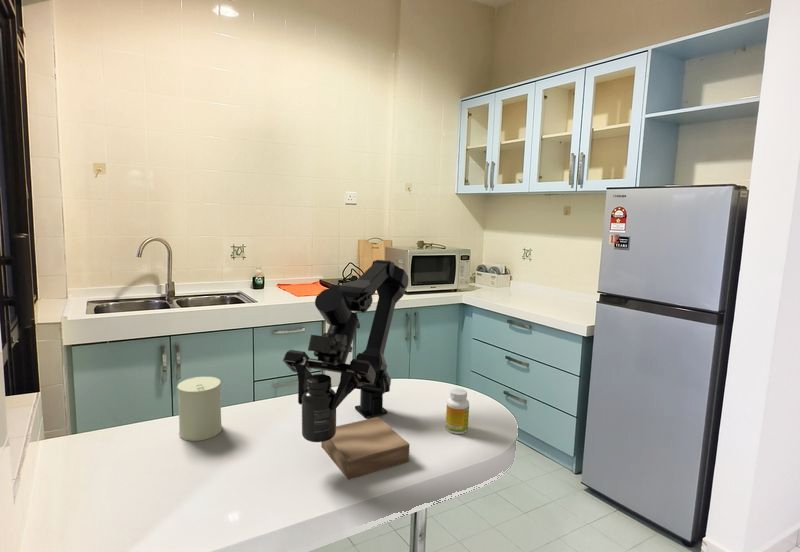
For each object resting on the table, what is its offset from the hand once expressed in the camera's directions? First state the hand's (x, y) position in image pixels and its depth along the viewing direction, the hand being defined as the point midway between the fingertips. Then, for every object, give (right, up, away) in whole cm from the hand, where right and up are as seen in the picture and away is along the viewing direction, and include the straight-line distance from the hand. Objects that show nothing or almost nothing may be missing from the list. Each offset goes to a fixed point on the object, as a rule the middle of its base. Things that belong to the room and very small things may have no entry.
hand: (315, 406), depth 94 cm
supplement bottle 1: (0, -6, +3) cm, 7 cm away
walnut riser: (+9, -13, +10) cm, 18 cm away
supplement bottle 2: (+30, -12, +22) cm, 39 cm away
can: (-30, -10, +17) cm, 35 cm away
